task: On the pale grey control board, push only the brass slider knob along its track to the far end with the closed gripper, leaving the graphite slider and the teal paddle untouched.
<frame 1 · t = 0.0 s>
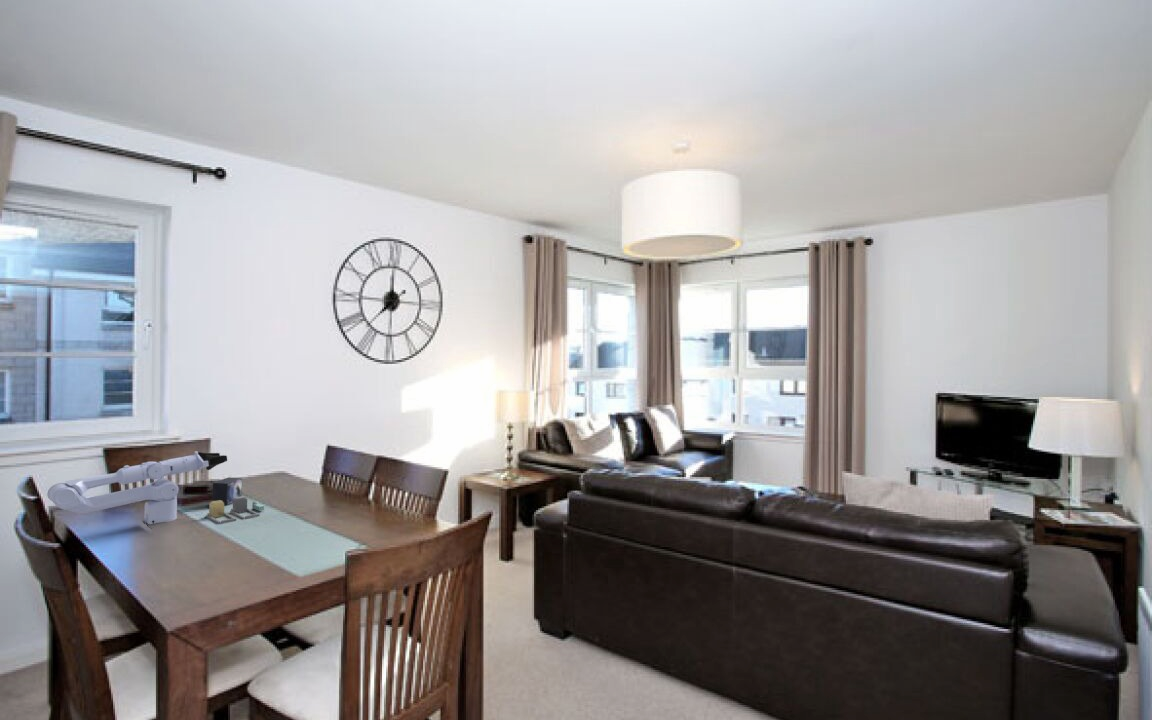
hand: (223, 456, 227), 22 cm above the table, tool horizontal, fingers open, 7 cm apart
slider brass: (216, 508, 218), point 4 cm above the table, slide at 0.0 cm
paddle: (257, 506, 226), point 3 cm above the table, hinge at 0.0°
slider graphite: (240, 504, 224), point 4 cm above the table, slide at 0.0 cm
small box: (227, 506, 238), on the table
control board: (235, 519, 219), on the table
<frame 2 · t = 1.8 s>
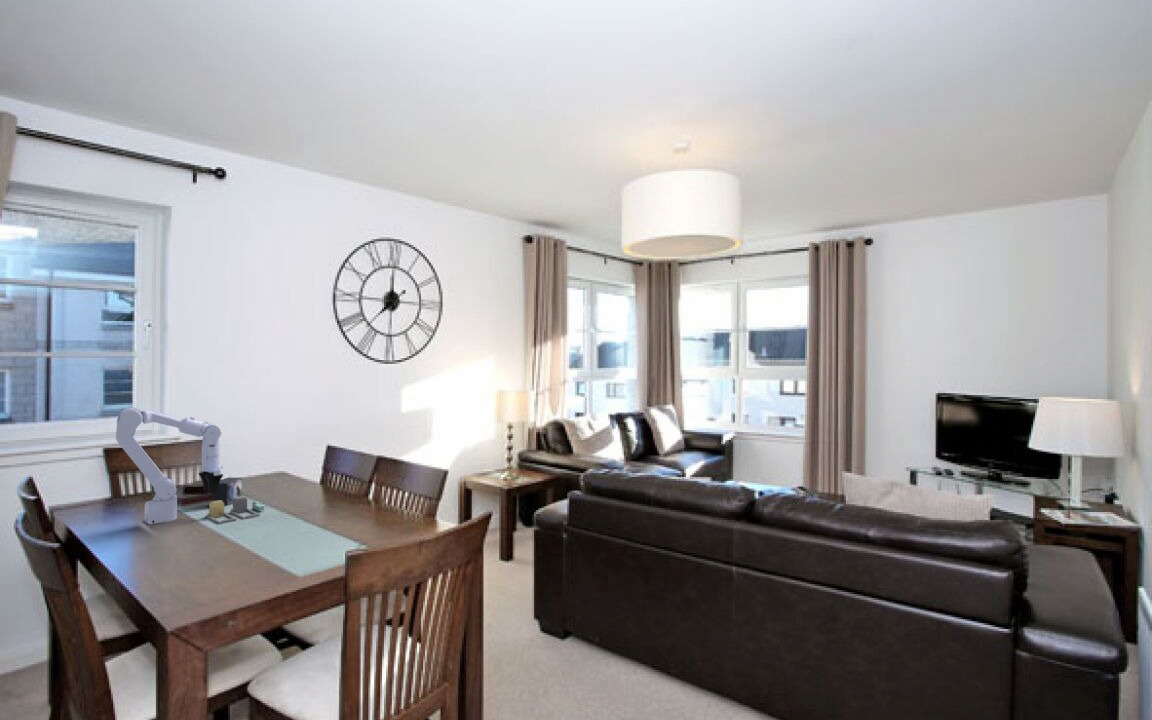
hand: (210, 491, 222), 9 cm above the table, tool pointing down, fingers open, 5 cm apart
nothing on the table moved.
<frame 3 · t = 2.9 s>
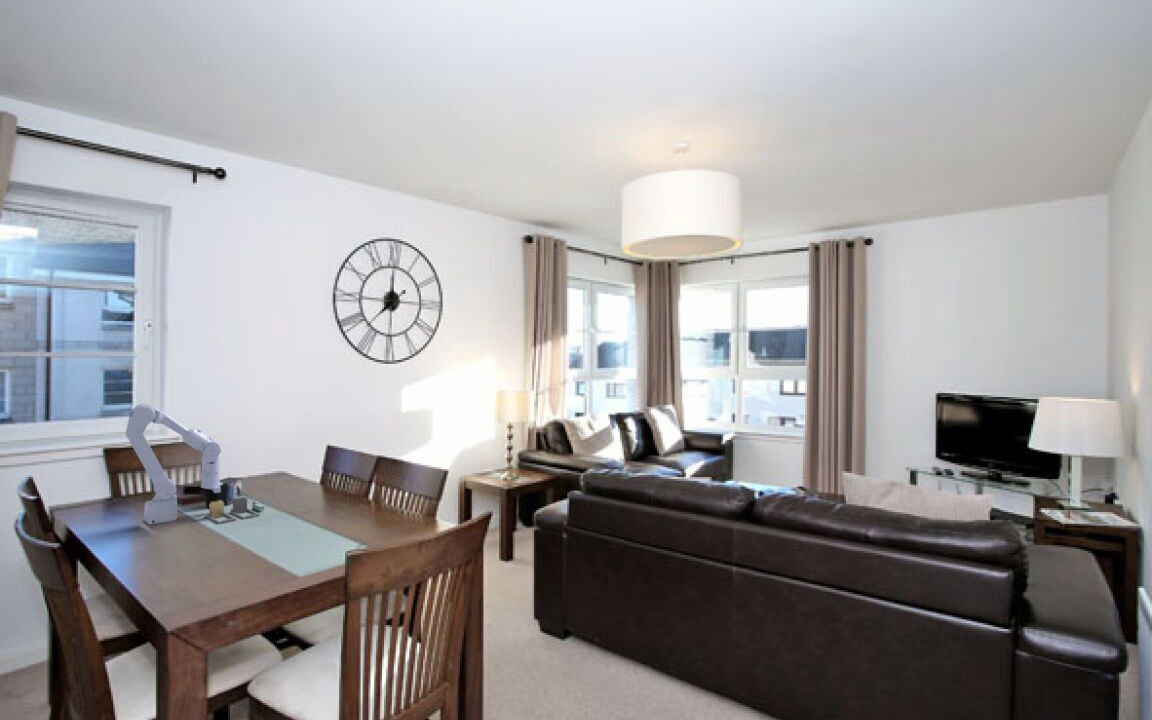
hand: (210, 508, 222), 3 cm above the table, tool pointing down, fingers closed
nothing on the table moved.
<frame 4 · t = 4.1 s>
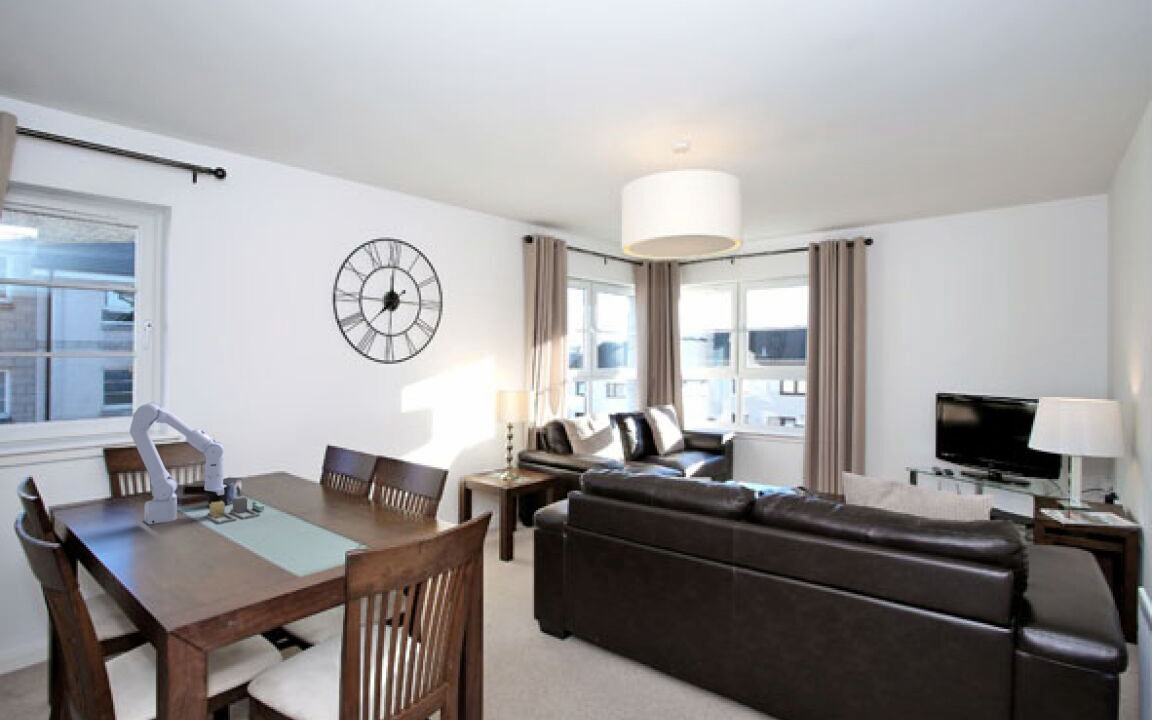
hand: (214, 511, 219), 3 cm above the table, tool pointing down, fingers closed
slider brass: (217, 509, 217), point 4 cm above the table, slide at 0.4 cm, touching gripper
everything else where it was.
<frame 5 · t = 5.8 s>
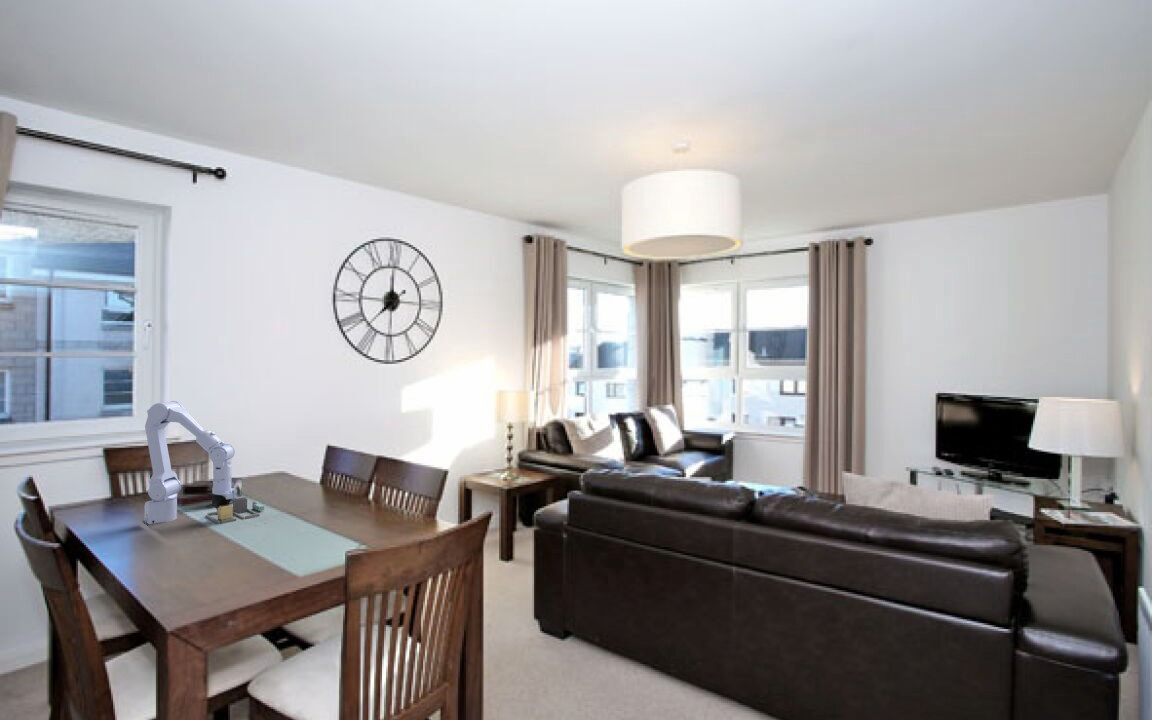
hand: (222, 515, 214), 3 cm above the table, tool pointing down, fingers closed
slider brass: (225, 513, 212), point 4 cm above the table, slide at 8.6 cm, touching gripper
everything else where it was.
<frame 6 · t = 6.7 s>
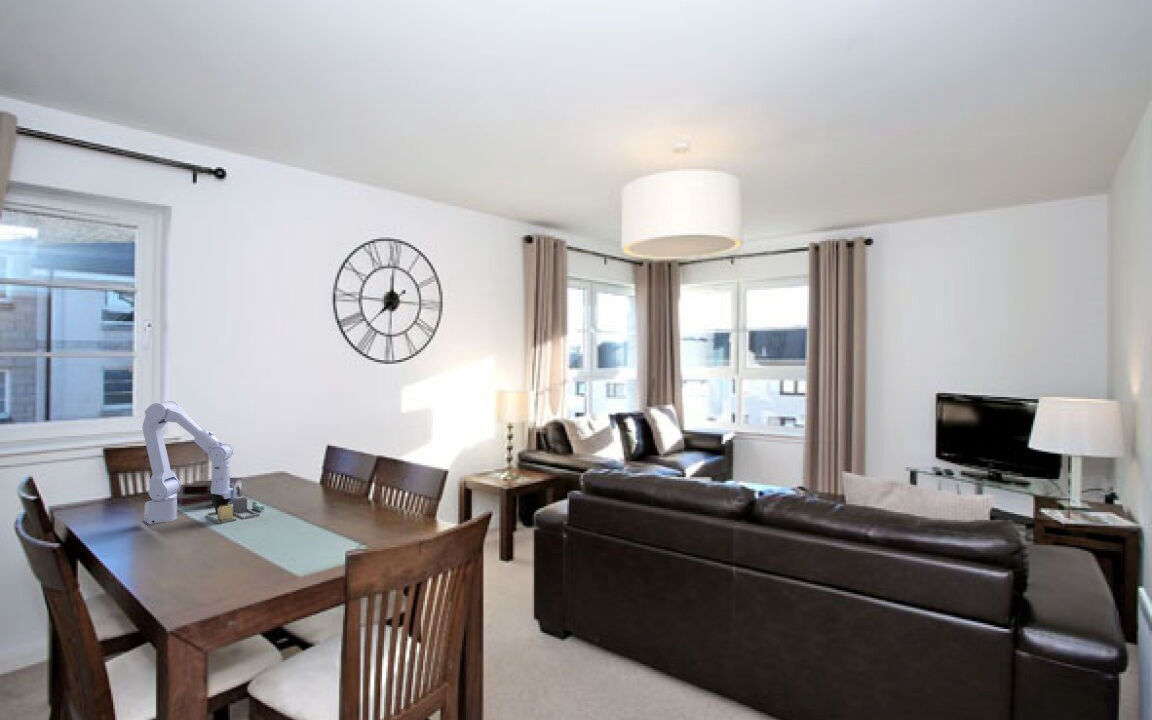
hand: (220, 514, 215), 3 cm above the table, tool pointing down, fingers closed
slider brass: (225, 513, 212), point 4 cm above the table, slide at 8.5 cm
everything else where it was.
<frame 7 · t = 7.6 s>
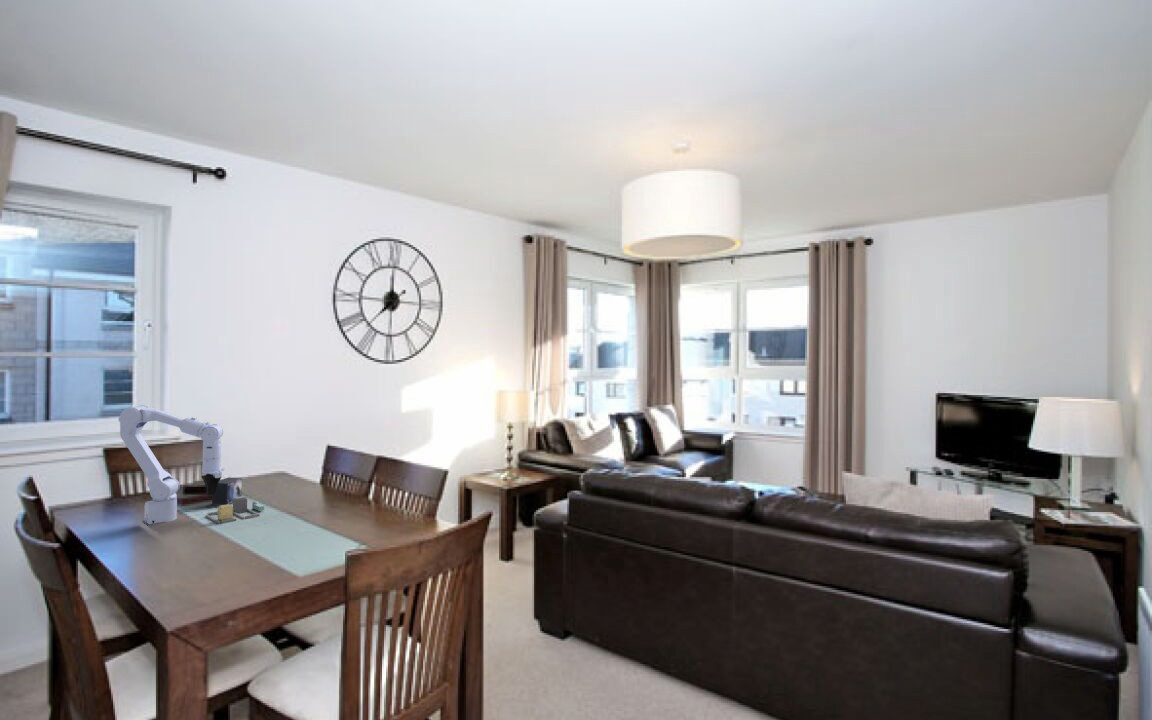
hand: (211, 494, 217), 10 cm above the table, tool pointing down, fingers closed
nothing on the table moved.
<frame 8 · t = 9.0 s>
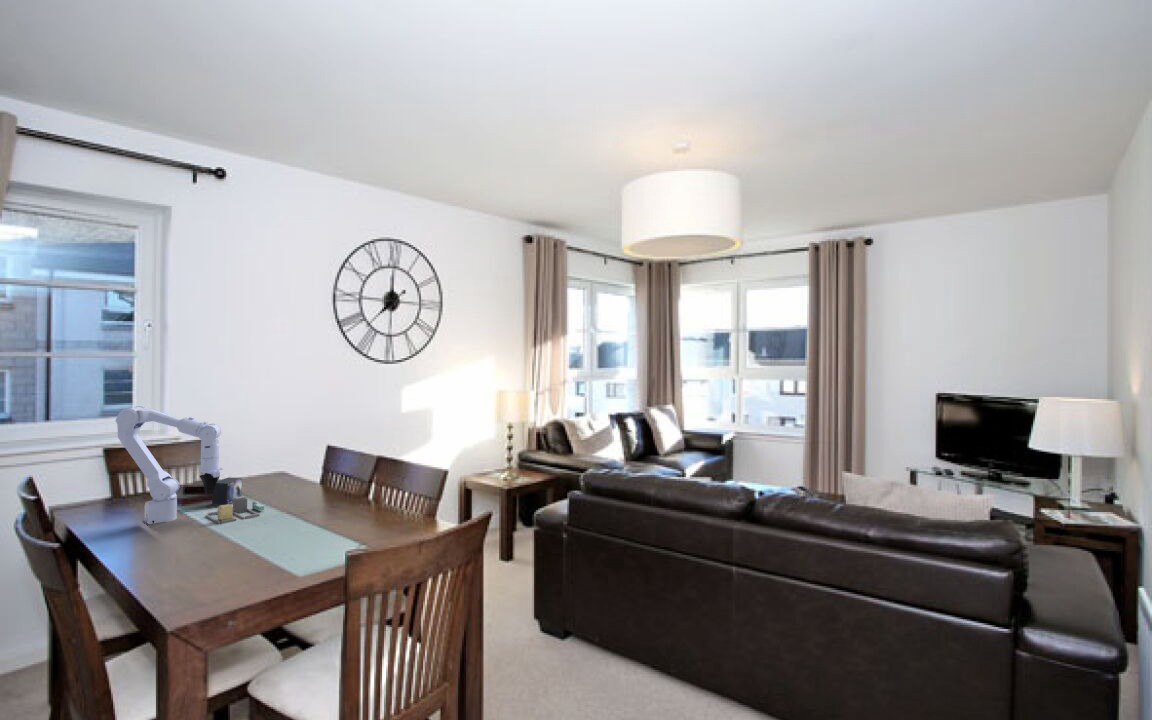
hand: (209, 493, 217), 10 cm above the table, tool pointing down, fingers closed
nothing on the table moved.
at the end: slider brass slide at 8.5 cm; slider graphite slide at 0.0 cm; paddle at +0° (first picture: +0°) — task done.
